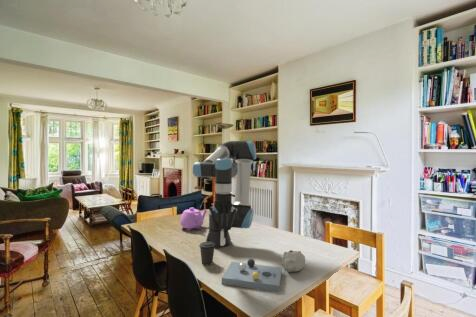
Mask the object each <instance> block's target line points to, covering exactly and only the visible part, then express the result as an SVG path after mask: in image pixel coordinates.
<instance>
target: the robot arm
mask: <svg viewBox="0 0 476 317" xmlns="http://www.w3.org/2000/svg"><path fill="white" fill-rule="evenodd" d="M256 159H257V148H256V144H255V142H254V141H252V140H230V141H226V142H223V143H221V144H219V145H218V146H217V147H216V148H215V149H214V152H212V153H211V154H210V155H209V156H208V157H206V159H204V160H203V161H196V162H194V163H193V165H192V173H193V176H194V177H196V178H197V177H198V178H215V182H214V187H215V188H214V191H215V193H214V194H215V195H214V197H215V198H214V204H213V206H210V207H209V208H208V210H209V211H208V212H209V213H208V221H209V222H208V233H207V236H206V239H205V242H213V243H215V247H214V248H216V249H217V248H225V247H228V246H230V245H231V243H232V241H231V240H232V239H231V235H230V232H229V231H230V230H231V229H232V228H237V229H250V228H251V227H252V226H251V225H252V223H253V220H254V209H253V208H252V205H251V204H250V187H251V168H252V164H254V160H256ZM233 160H235V163H234V162H233ZM235 177H236V179H235V192H234V202H233V200H232V199H233V194H232V192H233V186H232V184H233V178H235Z"/></svg>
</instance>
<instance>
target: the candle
mask: <svg viewBox="0 0 476 317" xmlns="http://www.w3.org/2000/svg"><path fill="white" fill-rule="evenodd" d="M281 263H282V265H283V267H284V269H285V271H286V272H287V273H293V272H298V271H301V270H302V269H303V268H304V267H305V266H306V257H305V255H304V254H303V253H302V251H297V250H289V251H284V252H283V255H282V257H281Z"/></svg>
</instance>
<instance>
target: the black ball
mask: <svg viewBox="0 0 476 317" xmlns="http://www.w3.org/2000/svg"><path fill="white" fill-rule="evenodd" d="M246 263H247V264H248V266H250V267H252V266H254V264H256V261H255V259H253V258H249V259H247V262H246Z"/></svg>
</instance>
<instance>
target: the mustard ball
mask: <svg viewBox="0 0 476 317" xmlns="http://www.w3.org/2000/svg"><path fill="white" fill-rule="evenodd" d="M252 278H253V279H254V280H257V279H258V278H259V274H258V272H253V274H252Z"/></svg>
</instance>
